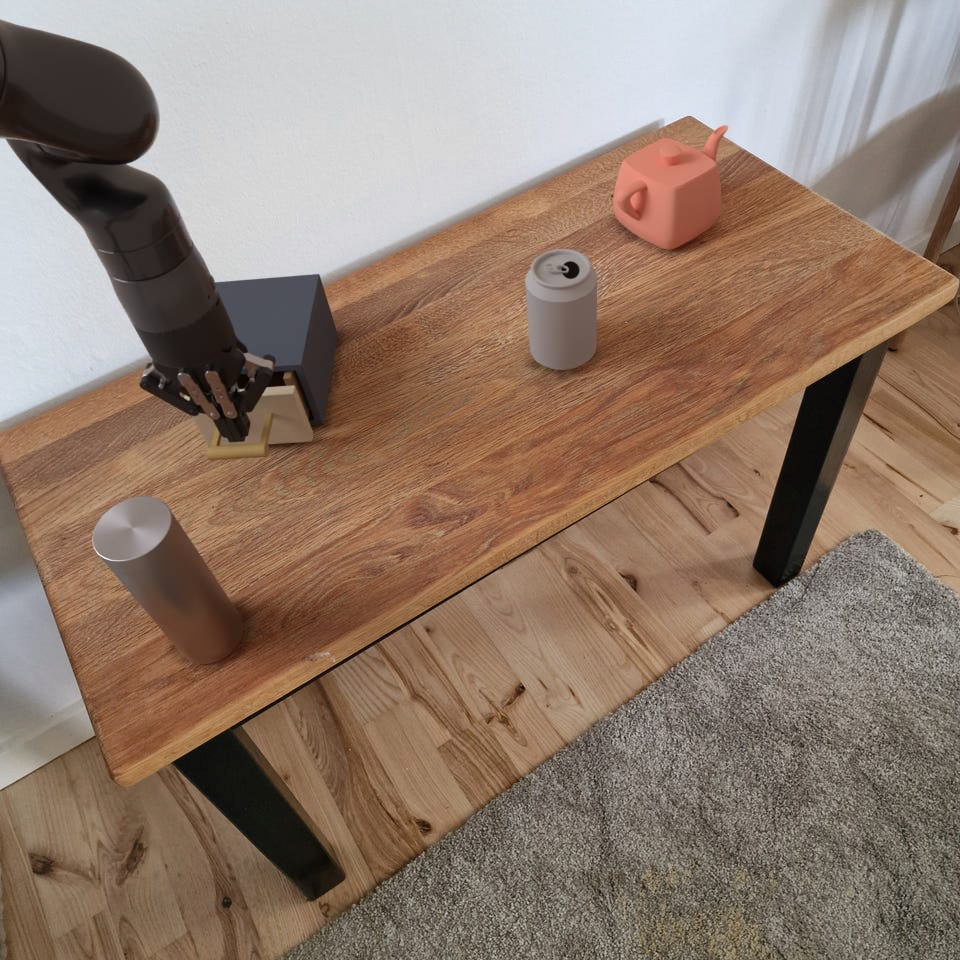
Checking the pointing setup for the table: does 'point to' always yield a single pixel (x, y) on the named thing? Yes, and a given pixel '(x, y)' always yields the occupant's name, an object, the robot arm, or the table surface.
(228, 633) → the cylinder
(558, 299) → the can
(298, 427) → the drawer
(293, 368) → the cabinet
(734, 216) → the table surface
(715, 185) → the teapot
